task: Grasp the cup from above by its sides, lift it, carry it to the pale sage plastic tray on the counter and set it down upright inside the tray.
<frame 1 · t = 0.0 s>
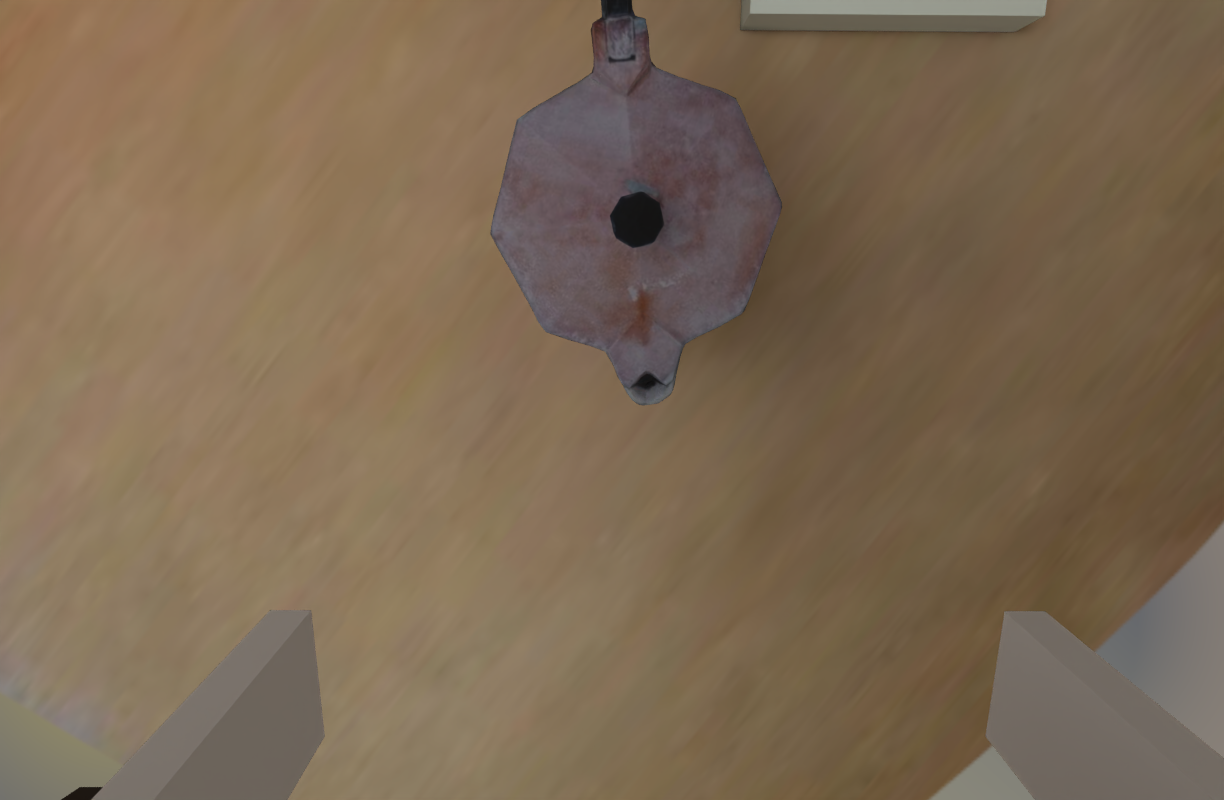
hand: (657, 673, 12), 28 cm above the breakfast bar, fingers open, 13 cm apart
moka pot: (619, 211, 38), on the breakfast bar
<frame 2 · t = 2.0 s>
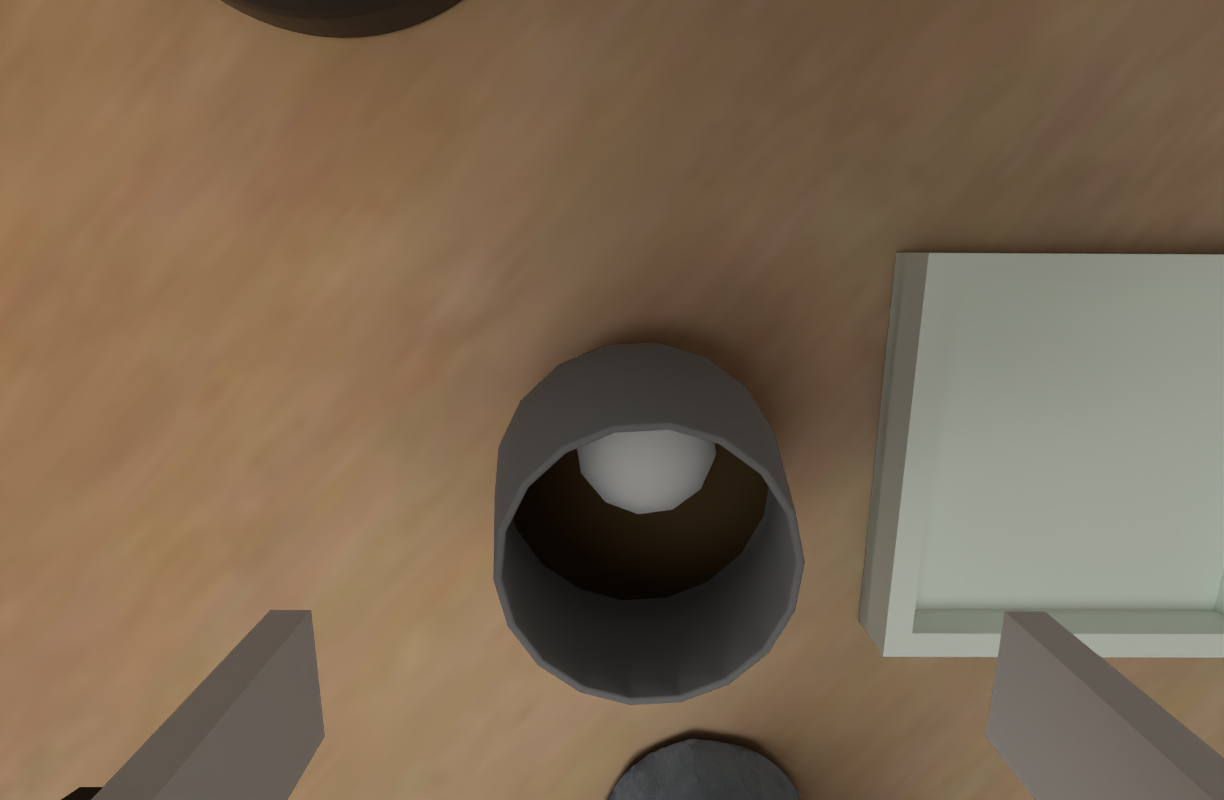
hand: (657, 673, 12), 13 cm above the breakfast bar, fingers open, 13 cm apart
cup: (633, 445, 26), on the breakfast bar
tray: (1066, 449, 26), on the breakfast bar
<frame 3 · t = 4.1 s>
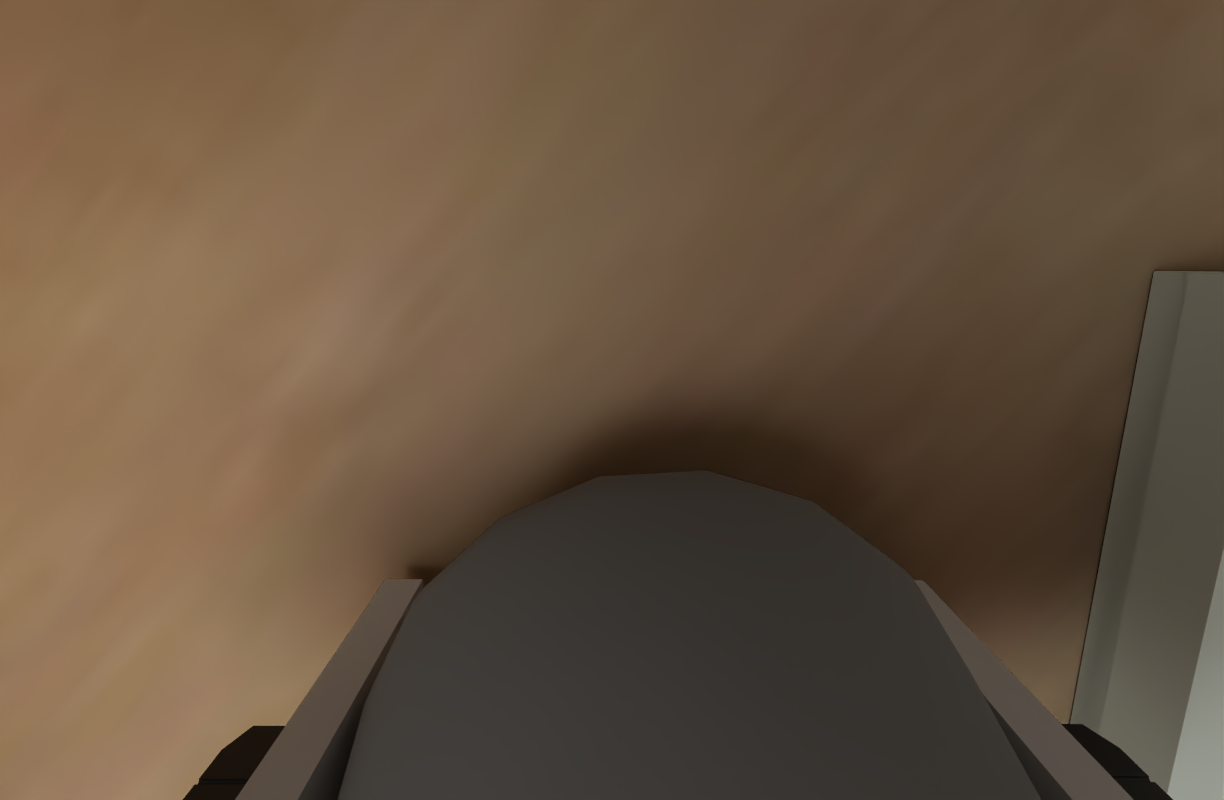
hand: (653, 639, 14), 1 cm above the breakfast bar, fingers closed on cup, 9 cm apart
cup: (650, 617, 14), on the breakfast bar, touching gripper
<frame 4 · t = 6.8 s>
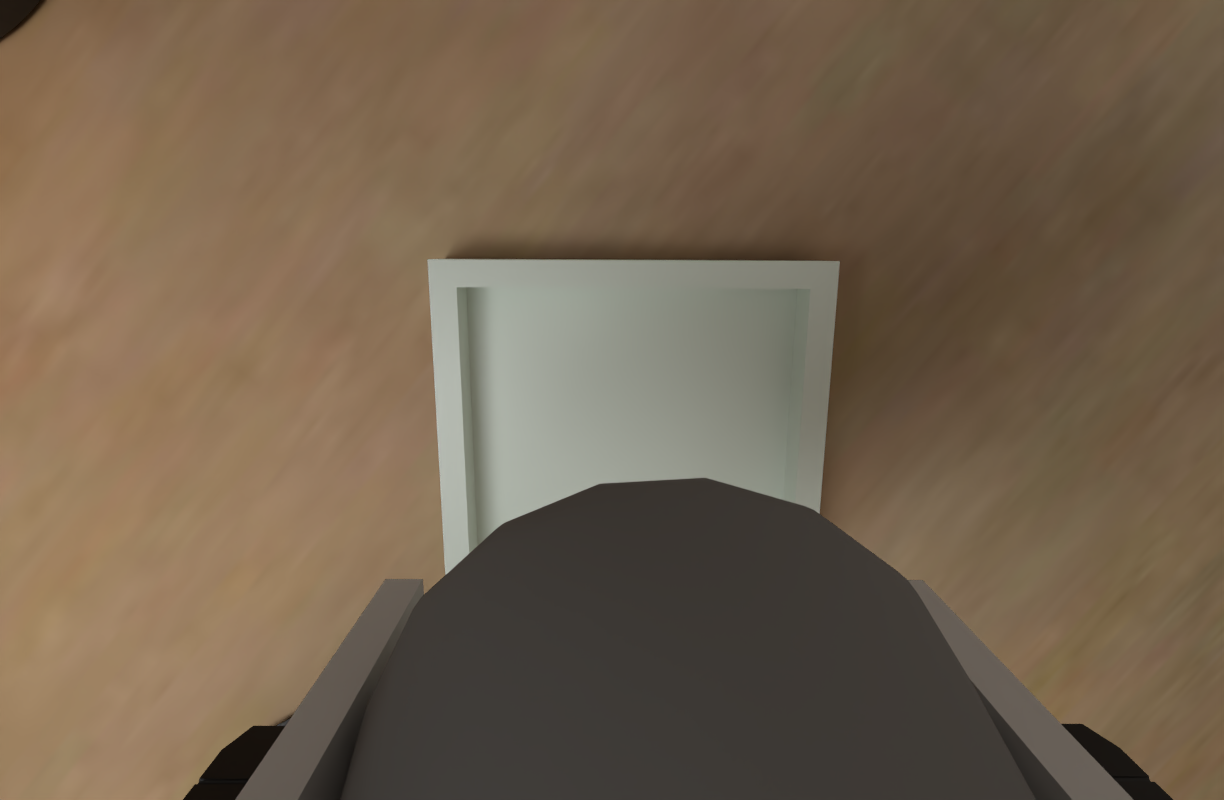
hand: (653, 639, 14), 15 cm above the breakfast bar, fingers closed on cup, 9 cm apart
cup: (650, 622, 14), point 14 cm above the breakfast bar, touching gripper
tray: (629, 439, 28), on the breakfast bar
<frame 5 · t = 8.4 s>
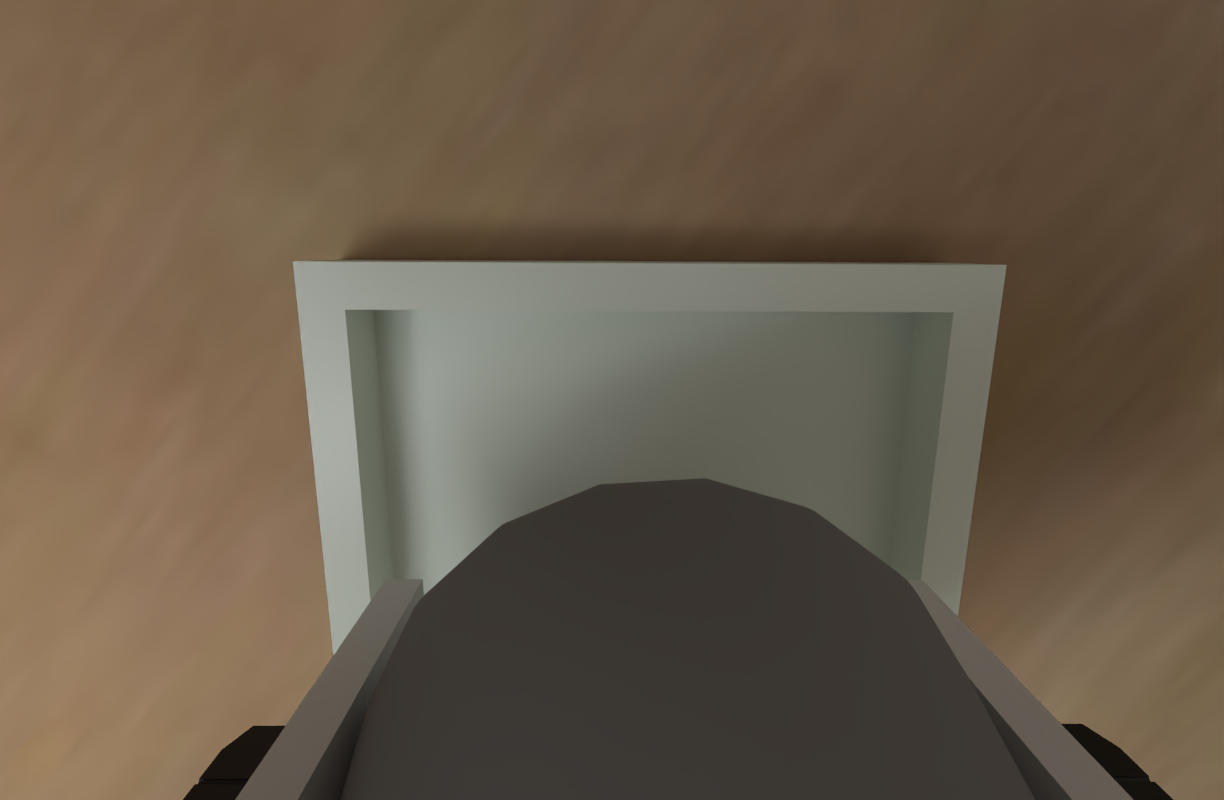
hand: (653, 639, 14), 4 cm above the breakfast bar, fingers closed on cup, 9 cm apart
cup: (650, 623, 14), point 4 cm above the breakfast bar, touching gripper
tray: (640, 541, 18), on the breakfast bar
when the fingers open (3 cm above the breakfast bar, at t = 9.7 s): cup drops 2 cm, resting on tray.
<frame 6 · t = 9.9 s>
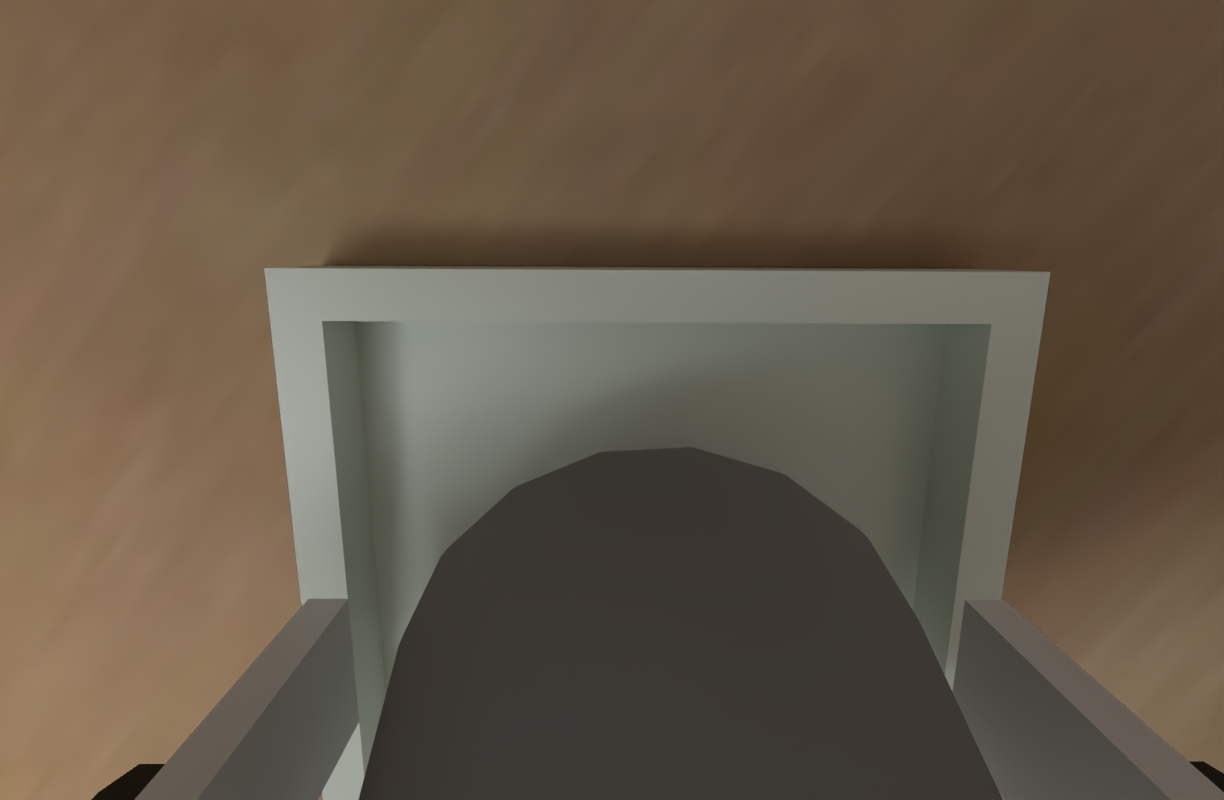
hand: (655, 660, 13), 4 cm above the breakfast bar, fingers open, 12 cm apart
cup: (648, 584, 16), point 1 cm above the breakfast bar, touching tray
tray: (645, 569, 17), on the breakfast bar
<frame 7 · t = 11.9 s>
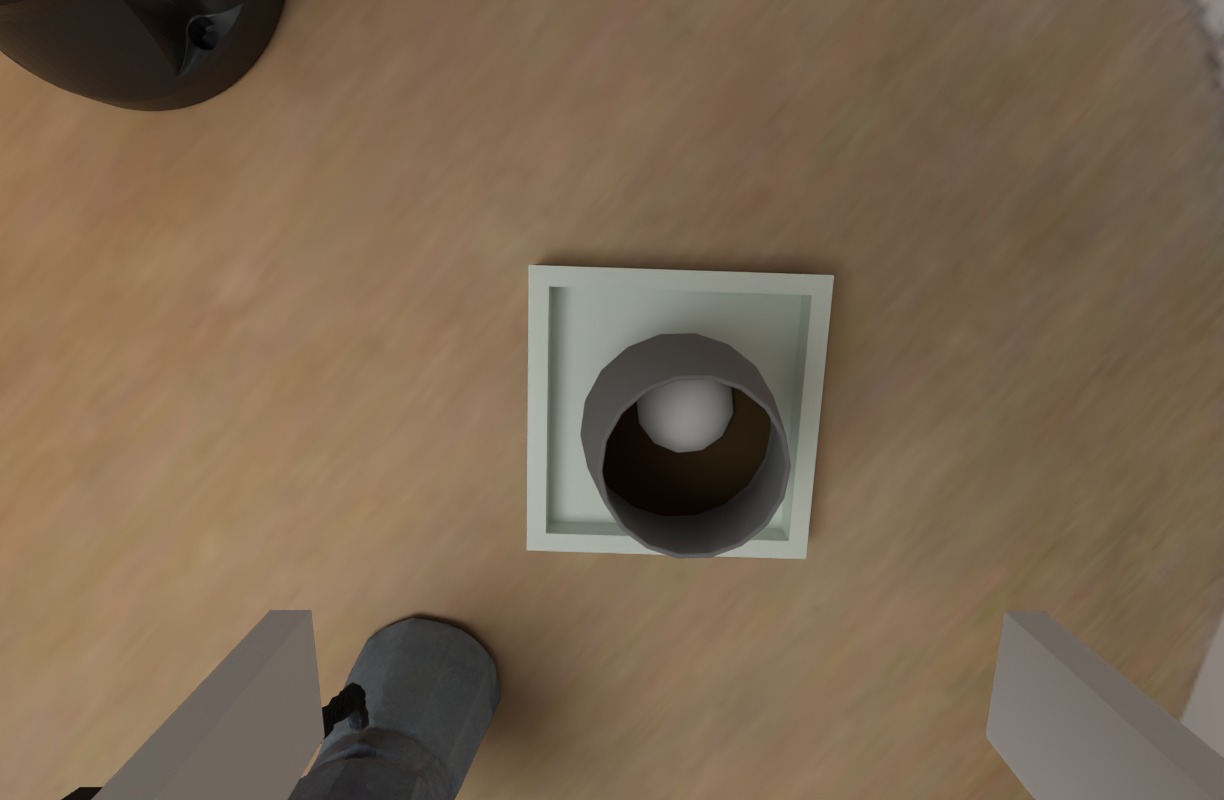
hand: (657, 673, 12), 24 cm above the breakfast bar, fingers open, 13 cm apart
cup: (671, 411, 35), point 1 cm above the breakfast bar, touching tray
moka pot: (424, 673, 39), on the breakfast bar
tray: (669, 408, 36), on the breakfast bar
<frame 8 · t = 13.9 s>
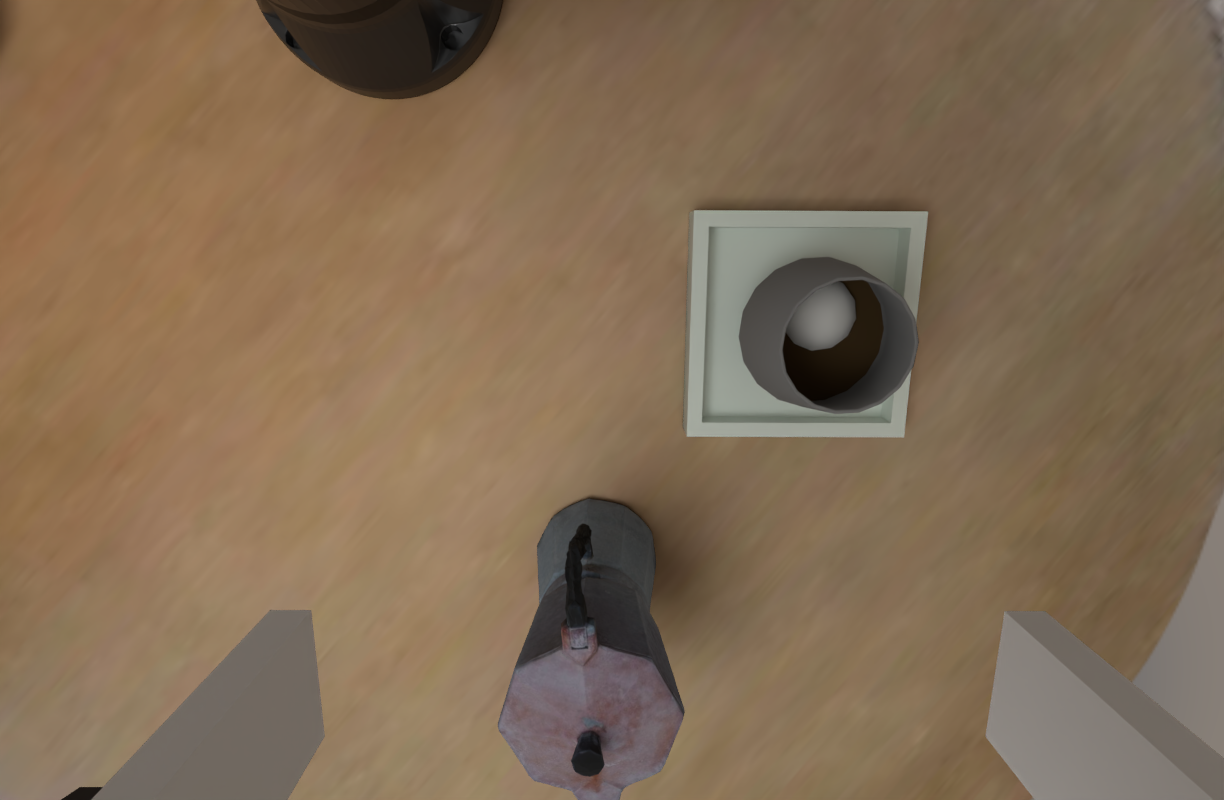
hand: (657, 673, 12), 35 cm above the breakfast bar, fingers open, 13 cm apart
cup: (795, 326, 45), point 1 cm above the breakfast bar, touching tray
moka pot: (593, 546, 50), on the breakfast bar
tray: (792, 324, 46), on the breakfast bar
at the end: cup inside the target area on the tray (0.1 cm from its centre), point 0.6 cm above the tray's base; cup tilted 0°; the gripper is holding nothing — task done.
